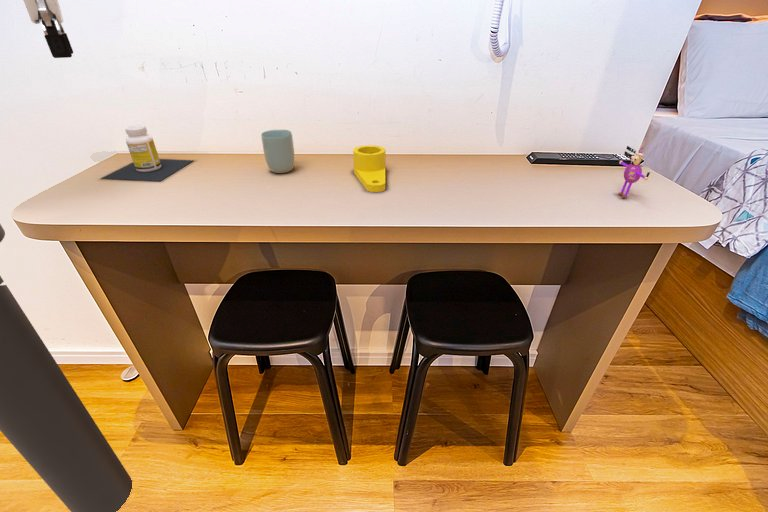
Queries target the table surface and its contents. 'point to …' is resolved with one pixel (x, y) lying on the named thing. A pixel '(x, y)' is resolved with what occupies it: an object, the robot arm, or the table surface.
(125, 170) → the mat
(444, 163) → the table surface
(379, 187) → the crank
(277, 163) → the cup
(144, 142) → the pill bottle
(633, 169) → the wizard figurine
